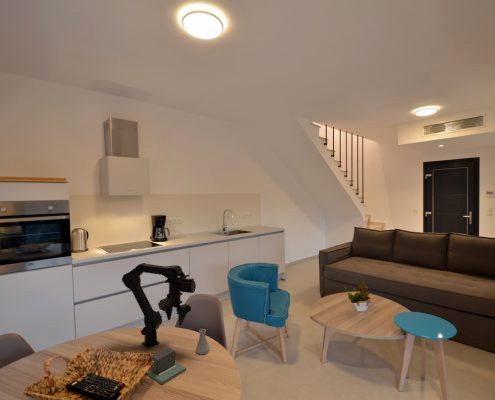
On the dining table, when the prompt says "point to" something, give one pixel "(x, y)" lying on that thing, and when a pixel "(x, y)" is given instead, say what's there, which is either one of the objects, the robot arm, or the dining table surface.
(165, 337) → the dining table surface
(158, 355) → the block
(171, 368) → the header board
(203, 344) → the grey flared piece
